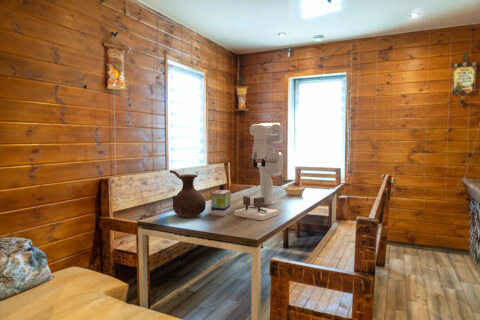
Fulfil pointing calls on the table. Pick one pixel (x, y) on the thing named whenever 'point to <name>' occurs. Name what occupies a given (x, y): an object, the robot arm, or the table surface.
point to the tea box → (220, 202)
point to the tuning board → (256, 213)
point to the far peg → (247, 202)
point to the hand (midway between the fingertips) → (259, 167)
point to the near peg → (259, 203)
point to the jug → (188, 198)
